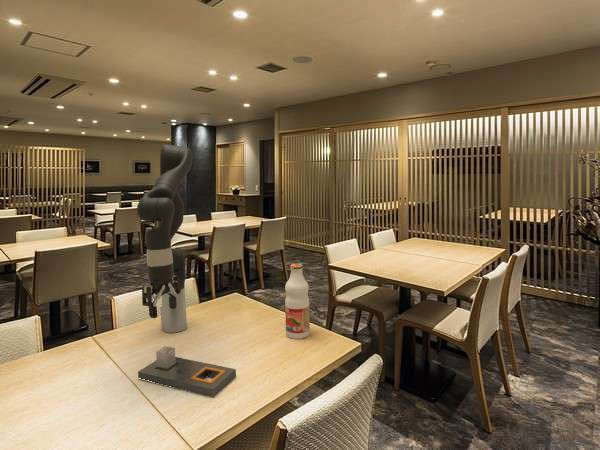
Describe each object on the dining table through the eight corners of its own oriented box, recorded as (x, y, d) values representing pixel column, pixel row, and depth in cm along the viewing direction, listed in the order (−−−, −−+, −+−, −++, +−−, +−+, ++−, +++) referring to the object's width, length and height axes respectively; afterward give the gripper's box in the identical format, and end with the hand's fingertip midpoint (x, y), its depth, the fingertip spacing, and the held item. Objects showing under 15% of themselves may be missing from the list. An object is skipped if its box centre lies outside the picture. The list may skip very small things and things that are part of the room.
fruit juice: (314, 336, 148) (312, 266, 145) (291, 341, 144) (290, 269, 141) (303, 327, 157) (302, 261, 153) (282, 332, 153) (280, 263, 149)
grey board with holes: (138, 379, 120) (137, 371, 119) (165, 361, 131) (164, 354, 130) (213, 397, 109) (213, 388, 109) (236, 376, 120) (235, 368, 120)
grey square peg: (157, 375, 122) (156, 351, 121) (166, 369, 125) (164, 346, 124) (167, 377, 120) (166, 353, 119) (176, 371, 124) (174, 348, 123)
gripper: (166, 257, 126) (169, 304, 128) (132, 266, 113) (137, 319, 115) (184, 258, 123) (188, 306, 125) (152, 268, 110) (156, 322, 112)
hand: (163, 312), depth 120 cm, fingers open, 8 cm apart
